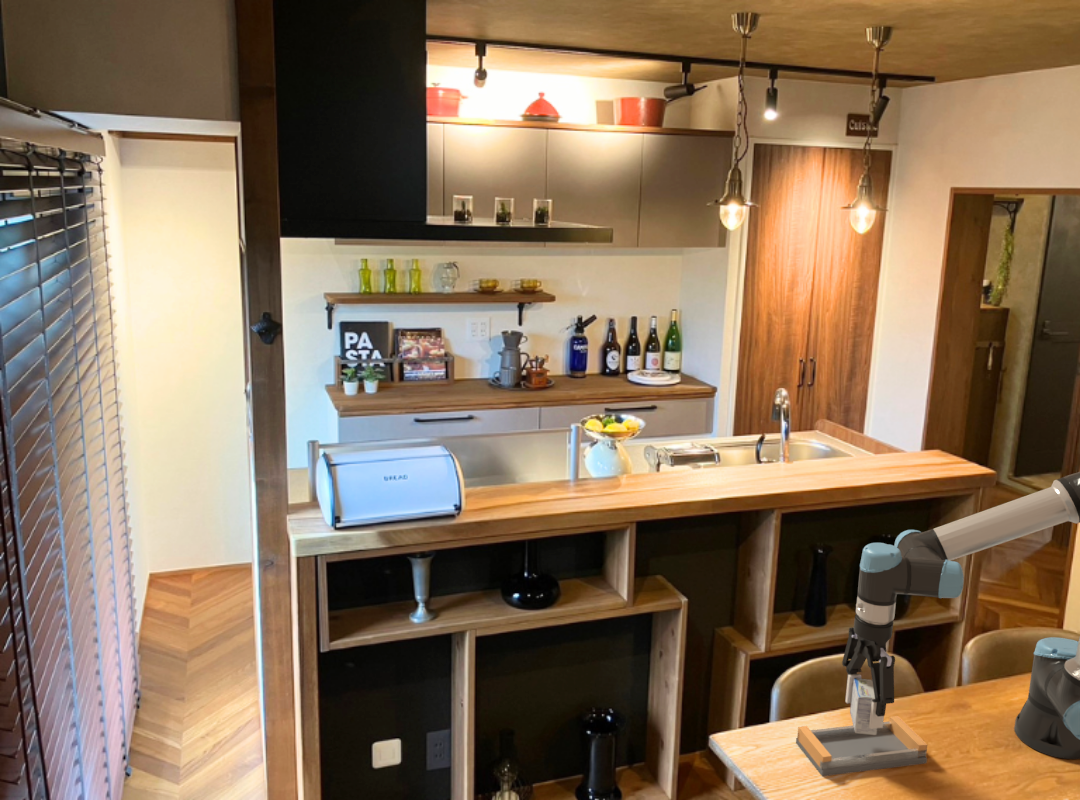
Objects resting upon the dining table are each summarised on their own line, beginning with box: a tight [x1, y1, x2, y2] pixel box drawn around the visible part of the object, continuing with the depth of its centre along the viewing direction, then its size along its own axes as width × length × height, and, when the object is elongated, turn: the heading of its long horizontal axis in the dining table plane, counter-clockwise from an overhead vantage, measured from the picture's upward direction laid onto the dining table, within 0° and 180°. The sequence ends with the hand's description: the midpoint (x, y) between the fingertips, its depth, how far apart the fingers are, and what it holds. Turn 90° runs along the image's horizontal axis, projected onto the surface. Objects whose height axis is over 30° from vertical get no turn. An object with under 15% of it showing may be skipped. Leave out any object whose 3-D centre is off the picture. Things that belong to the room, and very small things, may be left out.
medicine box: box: [849, 678, 877, 735], centre depth 189 cm, size 8×4×9 cm, turn 169°
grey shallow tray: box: [795, 715, 928, 777], centre depth 191 cm, size 24×12×4 cm, turn 101°
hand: (863, 714), depth 190 cm, fingers closed on medicine box, 9 cm apart
